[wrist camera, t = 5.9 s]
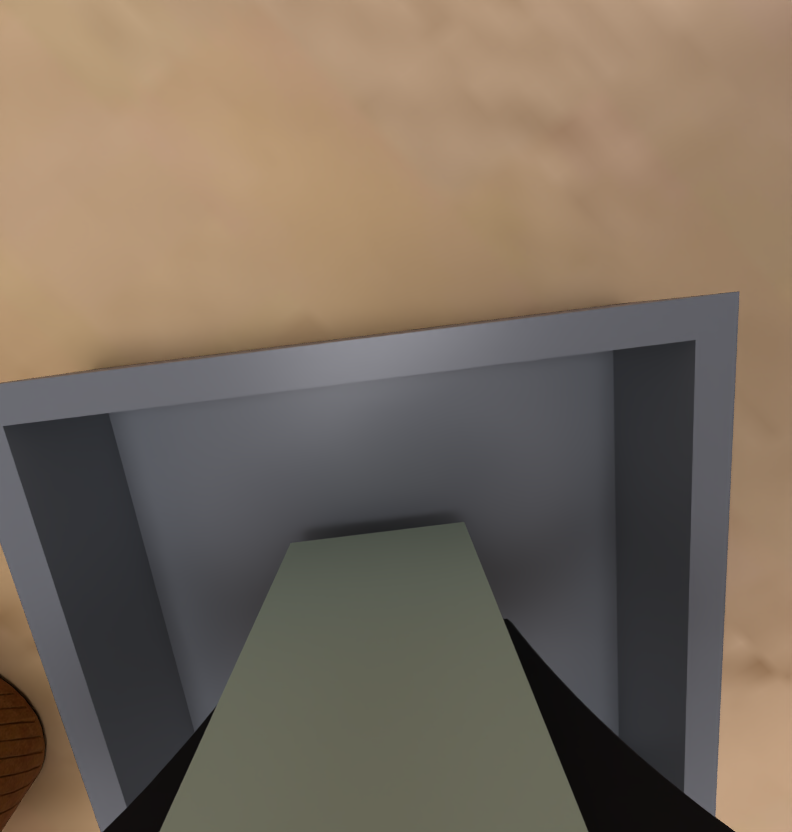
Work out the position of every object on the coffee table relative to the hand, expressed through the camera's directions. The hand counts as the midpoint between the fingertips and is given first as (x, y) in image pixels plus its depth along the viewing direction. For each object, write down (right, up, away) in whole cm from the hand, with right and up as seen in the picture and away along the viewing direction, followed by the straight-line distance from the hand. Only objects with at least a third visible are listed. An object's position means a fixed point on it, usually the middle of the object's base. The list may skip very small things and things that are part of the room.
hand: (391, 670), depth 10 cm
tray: (0, +1, +4) cm, 4 cm away
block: (0, +1, +2) cm, 2 cm away
